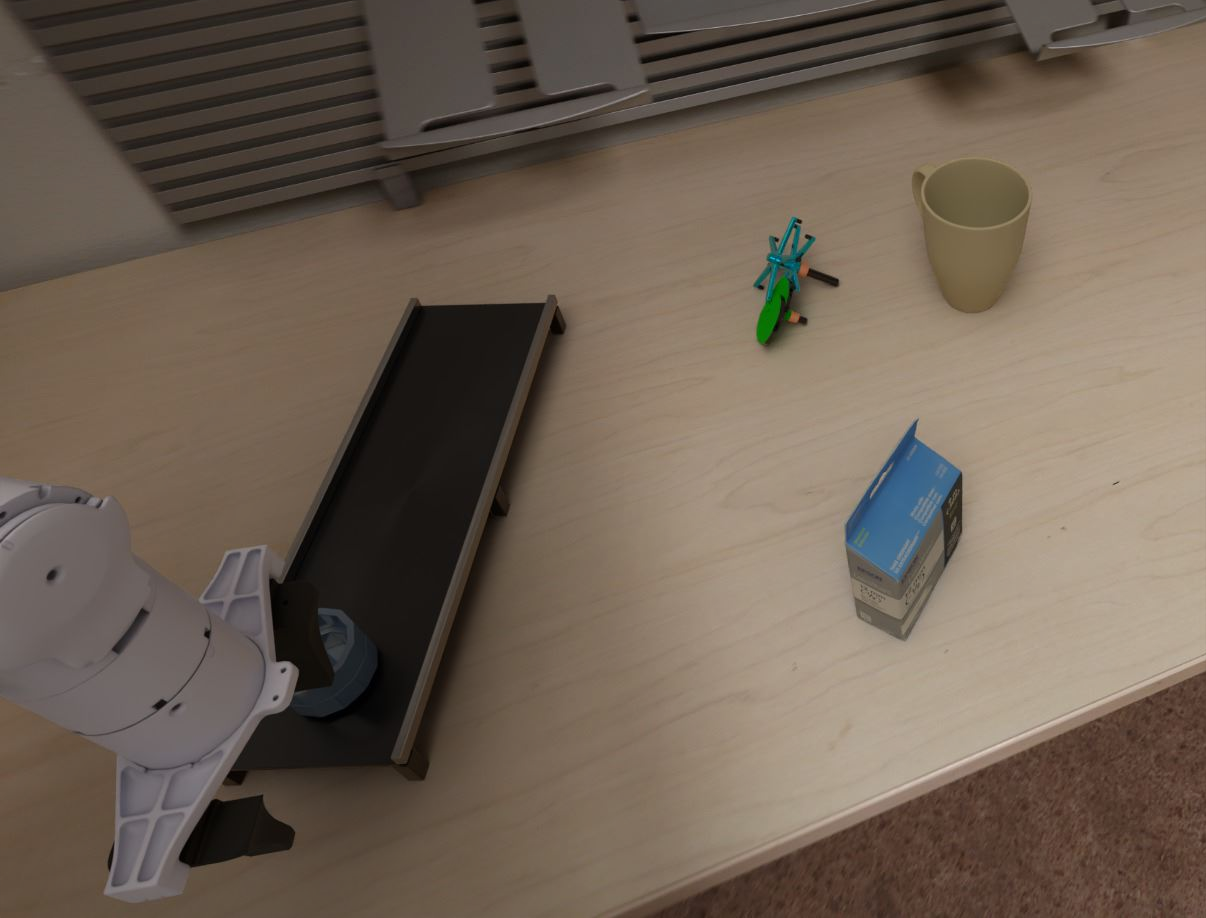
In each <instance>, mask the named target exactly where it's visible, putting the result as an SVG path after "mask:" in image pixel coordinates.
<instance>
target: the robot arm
mask: <svg viewBox="0 0 1206 918" xmlns="http://www.w3.org/2000/svg"><path fill="white" fill-rule="evenodd" d="M284 564H285V559H284V558H282V557H281V556H280V555H279V554H278V553H277V552H276V551H275V550H274V549H273V548H272V547H271V546H269V545H268V544H260V545H252V546H247V547H240V548H233V549H228V550H225V552H224V554H223V556H222V560H221V562H220V563H219V566H218V569H217V570H216V572H215V574H214V576H213V577H212V579H211V580H210V582H209V584H208V585H207V586H206V588H205V589H204V591H203V592H202V594H201V595H200V596H199V597H198V599H197V598H195V597H194V596H193V595H192V594H191V593H189V592H188V591H186V590H185V589H183V588H182V587H181V586H180V585H178V583H176V582H174V581H173V580H172V579H170V578H169V577H167V576H166V575H165V574H164V573H163V572H161V571H159V570H158V569H157V568H156V567H154V566H153V565H151V564H150V563H149V562H148V561H147V560H145V559H143V558H142V556H140V555H138V554H137V553H135V552H134V551H132V530H131V525H130V521H129V517H128V515H127V512H126V510H125V508H124V507H123V505H122V504H121V502H120V501H119V500H118V499H117V498H116V497H115V496H114V495H108V496H106V497H105V498H104V499H103V498H102V497H97V496H94V495H93V494H92V493H89V492H87V491H85V490H84V489H82V488H78V487H73V486H69V485H63V484H58V483H57V484H56V483H50V482H44V481H36V480H29V479H23V478H17V477H11V476H10V477H9V476H3V475H0V697H1V698H3V699H4V700H6V701H9V702H11V703H13V704H15V705H17V706H19V707H21V708H22V709H25V710H27V711H29V712H31V713H33V714H35V715H37V716H39V717H42V718H43V719H45V720H47V721H50V722H52V723H54V724H56V725H58V726H59V727H62V728H64V729H67V730H68V731H70V732H72V733H73V734H76V735H77V736H80V737H81V738H84V739H85V740H88V741H89V742H92V743H94V744H96V745H98V746H100V747H101V748H104V749H106V750H109V751H110V752H112V753H115V754H116V770H115V771H116V773H115V813H114V814H115V815H114V840H113V842H112V846H111V848H110V852H109V854H108V858H107V870H108V878H107V880H106V883H105V887H104V890H103V895H104V896H107V897H110V898H112V899H117V900H120V901H123V902H126V903H129V904H138V903H145V902H149V901H156V900H161V899H166V898H170V897H176V896H180V895H183V894H184V892H185V889H186V885H187V883H188V879H189V876H190V873H191V869H192V868H197V867H203V866H209V865H214V864H220V863H224V862H228V861H232V860H235V859H238V858H241V857H249V858H251V857H257V856H262V855H268V854H273V853H278V852H279V853H280V852H285V851H290V850H291V849H292V848H293V846H294V842H295V837H296V834H297V832H296V830H295V829H294V828H293V827H292V826H291V825H290V824H287V823H285V822H283V821H281V820H278V819H277V818H275V817H274V816H273V815H272V814H271V813H270V812H269V810H268V809H267V808H266V805H265V803H264V794H259V795H252V796H248V797H242V798H235V799H230V800H224V801H223V800H221V799H219V798H214V797H215V796H216V794H217V792H218V790H220V787H221V786H222V785H223V784H222V782H223V781H224V779H225V777H226V776H227V774H228V773H229V771H230V769H231V768H232V766H233V764H234V763H235V761H236V760H237V758H238V756H239V755H240V753H241V752H242V750H243V748H244V747H245V745H246V743H247V742H248V740H249V739H250V737H251V735H252V734H253V732H254V730H255V729H256V727H257V726H258V724H259V722H260V721H261V720H262V719H263V718H264V717H265V716H267V715H270V714H276V713H279V712H281V711H283V710H285V709H286V708H287V707H288V706H289V704H290V702H291V700H292V697H293V694H294V692H299V691H305V690H311V689H317V688H323V687H329V686H332V684H333V680H334V676H335V673H334V670H333V667H332V664H331V662H330V660H329V657H328V655H327V652H326V650H325V647H324V644H323V641H322V637H321V633H320V629H319V620H318V601H319V593H320V591H319V590H318V589H317V588H316V587H315V586H314V585H312V584H311V583H310V582H308V581H304V580H300V581H293V582H286V583H280V584H279V583H278V582H277V580H278V579H279V578H280V576H281V574H282V571H283V568H284Z"/></svg>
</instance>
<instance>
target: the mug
mask: <svg viewBox="0 0 1206 918" xmlns="http://www.w3.org/2000/svg"><path fill="white" fill-rule="evenodd" d="M911 187H912V188H911V189H912V195H913V199H914V202H915V205H916V207H917V210H918V212H919V214H920V216H921V218H922V222H923V235H924V243H925V249H926V253H927V258H928V261H929V264H930V267H931V269H932V272H933V274H934V276H935V278H936V280H937V282H938V284H939V287H940V289H941V293H942V294H943V296H944V299H945V300H946V302H947V304H948V305H950V306H951V307H952V308H954V309H956V310H958V311H960V312H964V313H969V314H970V313H971V314H973V313H974V314H975V313H981V312H985V311H987V310H989V309H990V308H991V307H993V306H994V305H995V303H996V302H997V301H998V299H999V297H1000V295H1001V294H1002V292H1003V290H1004V288H1005V287H1006V285H1007V283H1008V281H1009V280H1010V278H1011V276H1012V275H1013V273H1014V271H1015V269H1016V266H1017V265H1018V263H1019V259H1020V256H1021V253H1022V250H1023V246H1024V242H1025V236H1026V233H1027V226H1028V221H1029V218H1030V217H1029V216H1030V211H1031V207H1032V202H1033V190H1032V187H1031V184H1030V182H1029V180H1028V178H1027V177H1026V176H1025V175H1024V174H1023V173H1022V172H1021V171H1020V170H1018V169H1017V168H1016V167H1015V166H1012V165H1010V164H1009V163H1006V162H1004V161H1001V160H998V159H996V158H995V159H994V158H989V157H984V156H983V157H982V156H967V157H960V158H955V159H950V160H948V161H946V162H944V163H941V164H939V165H938V166H936V165H934V164H933V163H924V164H921V165H919V166H918V167H916V168H915V169H914V171H913V173H912V176H911Z"/></svg>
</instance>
